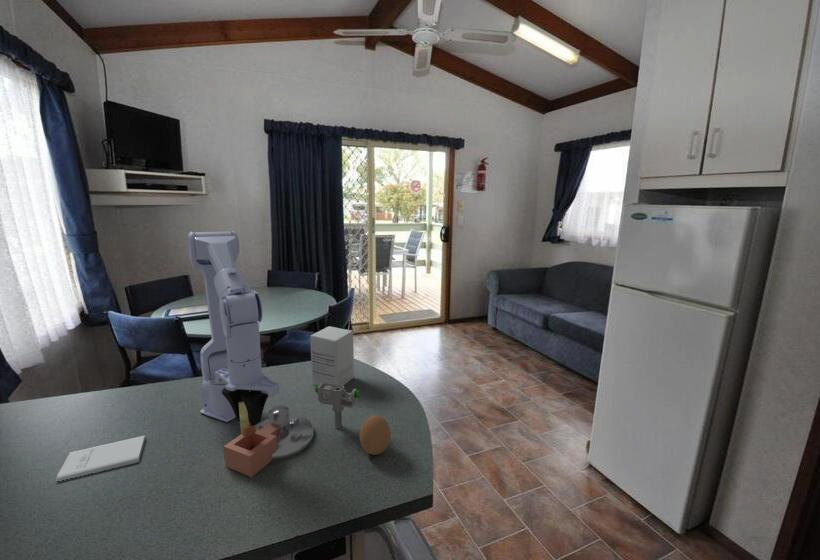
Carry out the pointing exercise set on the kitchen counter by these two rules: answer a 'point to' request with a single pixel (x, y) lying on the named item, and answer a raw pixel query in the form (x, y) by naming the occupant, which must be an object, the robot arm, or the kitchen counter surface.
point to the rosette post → (288, 432)
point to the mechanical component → (336, 399)
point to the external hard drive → (102, 458)
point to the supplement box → (332, 356)
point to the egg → (375, 435)
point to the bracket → (252, 450)
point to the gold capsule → (245, 420)
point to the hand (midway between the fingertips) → (249, 421)
